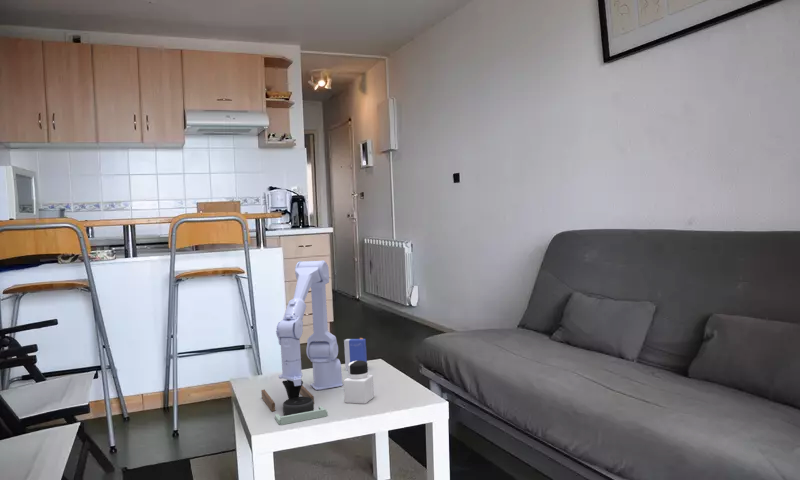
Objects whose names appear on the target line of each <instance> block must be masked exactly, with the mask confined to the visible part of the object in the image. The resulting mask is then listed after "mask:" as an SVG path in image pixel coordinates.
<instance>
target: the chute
mask: <svg viewBox="0 0 800 480" xmlns="http://www.w3.org/2000/svg"><path fill="white" fill-rule="evenodd" d="M260 391H261V392H260V393H261V398H262V400H263V402H264V403H265V404H266V406H267V408H269V410H270V411H271V412H275V411H276V402H275V400H273V398H272V397H271V396H270V395H269V393H268V392H267V390H265V389H261V390H260ZM299 395H300V396H301V397H309V398H311V399H312V400H313V402H314V403H315V397H314V394H313V393H311V392H310V391H309V390H308V389H307V388H306V387H305V386H304V385H302V387H301V389H300V393H299Z"/></svg>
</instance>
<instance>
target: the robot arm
mask: <svg viewBox="0 0 800 480" xmlns="http://www.w3.org/2000/svg"><path fill="white" fill-rule="evenodd" d="M329 268H330V267H329V265H328V264H327V262H326V261H325V260H324V259H323V260H305V261H298V262H297V263H296V264H295V267H294V272H295V273H294V274H295V278H296V286H295V289H294V293H293V297H292V299H290V300H288V303H287V305H286V309H285V312H284V315H283V317H282V320H280V321H279V322H278V323H277V325H276V331H275V332H276V333H275V334H276V338H277V339H278V345H279V346H280V355H281V358H280V359H281V370H282V373H281V374H279V375H278V379H284V380H283V381H281V383H282V385H283V386H284V388H285V391H286V395H287V400H288V399H290V398H294V397H300V389H301V387H302V386H304V385H303V384H304V381H303V380H302V377H303V371H302V360H301V358H302V356H301V355H302V354H301V337H302V335H303V331H304V330H303V329H304V328H303V327H304V321H303V320H304V316H305V312H306V310H307V304H306V302H305V301H306V298H307V297H308V294H309V291H311V292H310V294H311V311H312V331H313V333H312V334H311V335H309V337H308V338H307V340H306V341H307V342H306V343H307V345H306V349H305V350H306V351H305V353H306V356H307V358H308V359H309V360H310V362H312V375H313V383H310V386H311V387H312V388H313V389H314V390H315V391H320V390H326V389H331V388H338V387H344V383H343V376H342V375H343V373H342V365H341V361H340V359H339V358H337V357H338V354H339V345H338V341H337V337H336V335H334V334H332V333H331V332H329V328H328V327H329V326H328V325H329V324H328V310H327V309H328V308H327V307H328V306H327V290H326V289H327V287H326V285H327V284H329V283H330V270H329Z"/></svg>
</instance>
